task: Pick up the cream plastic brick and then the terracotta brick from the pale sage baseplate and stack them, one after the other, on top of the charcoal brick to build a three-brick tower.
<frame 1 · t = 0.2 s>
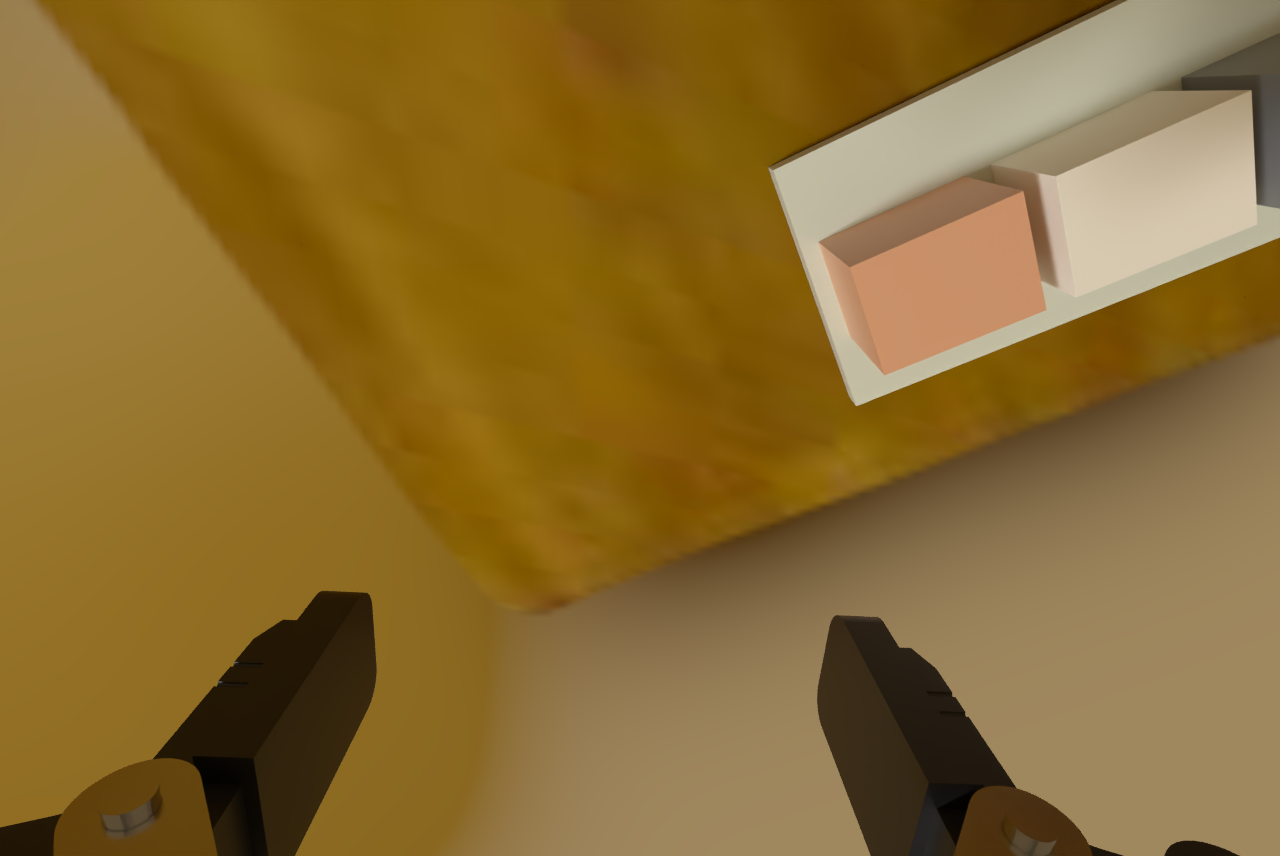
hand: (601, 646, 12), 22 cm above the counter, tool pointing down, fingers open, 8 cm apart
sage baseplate: (1061, 181, 29), on the counter
charcoal brick: (1270, 100, 27), point 1 cm above the counter, touching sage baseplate
cream brick: (1078, 184, 28), point 1 cm above the counter, touching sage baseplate
terracotta brick: (903, 260, 29), point 1 cm above the counter, touching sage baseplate
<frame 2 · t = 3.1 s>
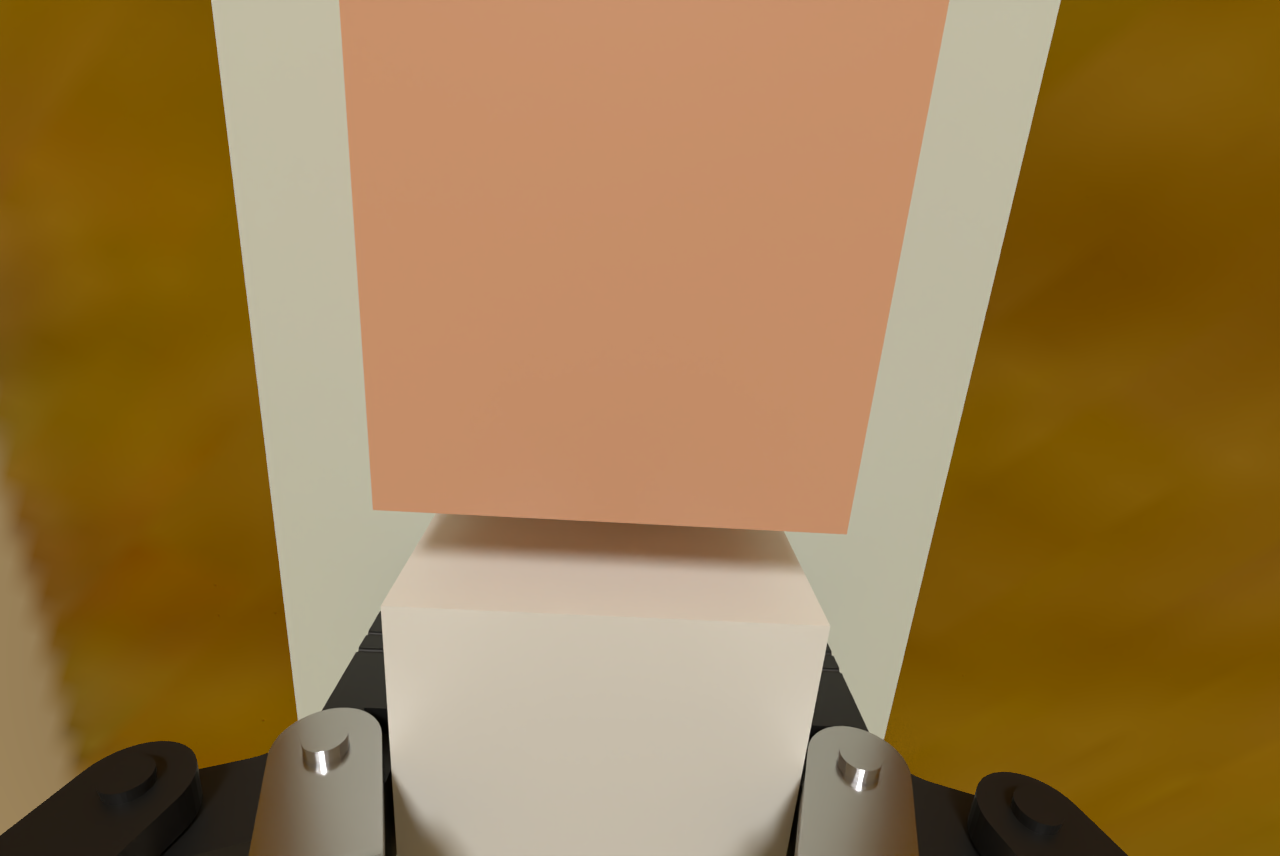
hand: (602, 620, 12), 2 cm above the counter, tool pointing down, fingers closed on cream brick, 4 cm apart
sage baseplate: (605, 575, 14), on the counter
cream brick: (604, 609, 13), point 1 cm above the counter, touching gripper, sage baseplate
terracotta brick: (629, 192, 10), point 1 cm above the counter, touching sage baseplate
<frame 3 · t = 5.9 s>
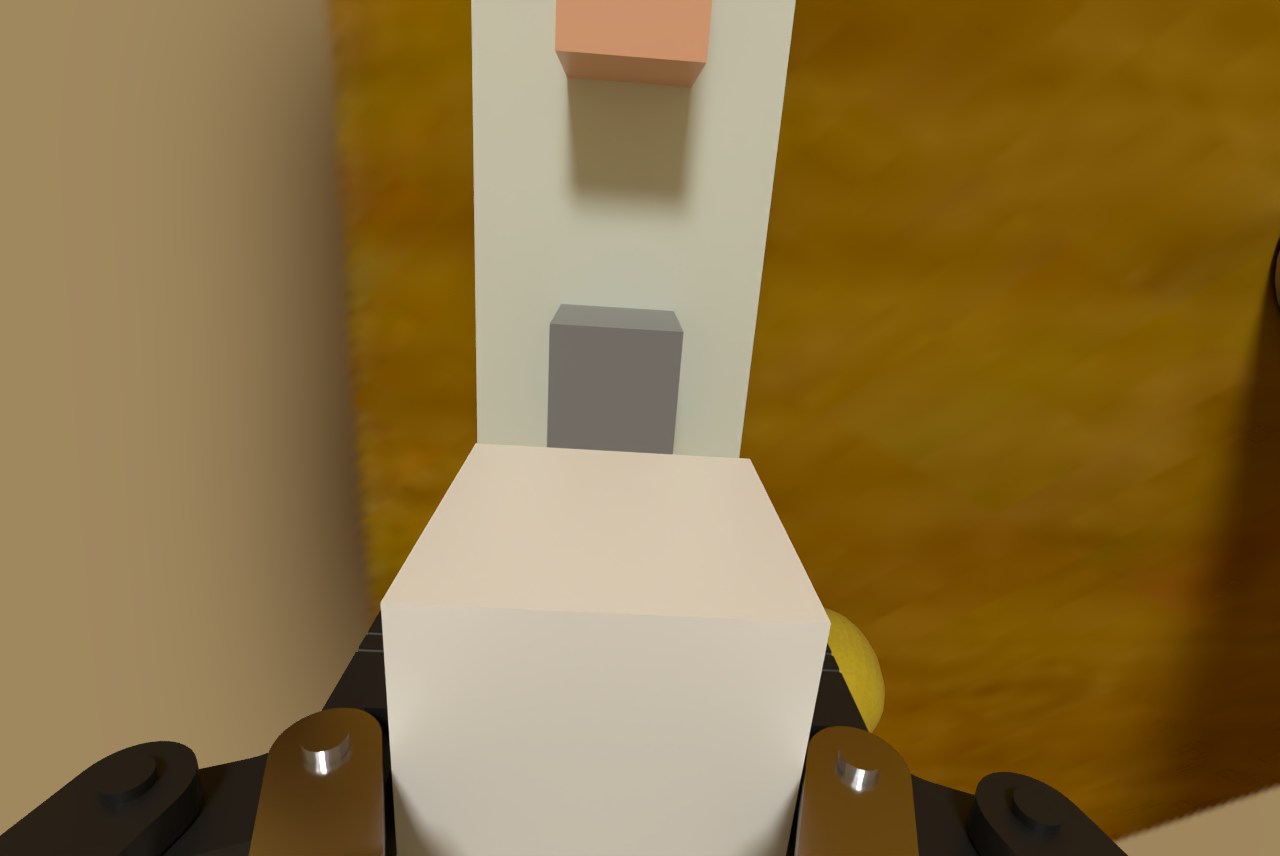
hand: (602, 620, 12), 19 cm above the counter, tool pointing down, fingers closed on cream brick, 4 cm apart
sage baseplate: (623, 200, 28), on the counter
charcoal brick: (613, 380, 29), point 1 cm above the counter, touching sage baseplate
cream brick: (604, 607, 13), point 19 cm above the counter, touching gripper
lemon: (796, 620, 35), on the counter
when the fingers open (8 cm above the counter, at t = 8.4 s): cream brick drops 1 cm, resting on charcoal brick.
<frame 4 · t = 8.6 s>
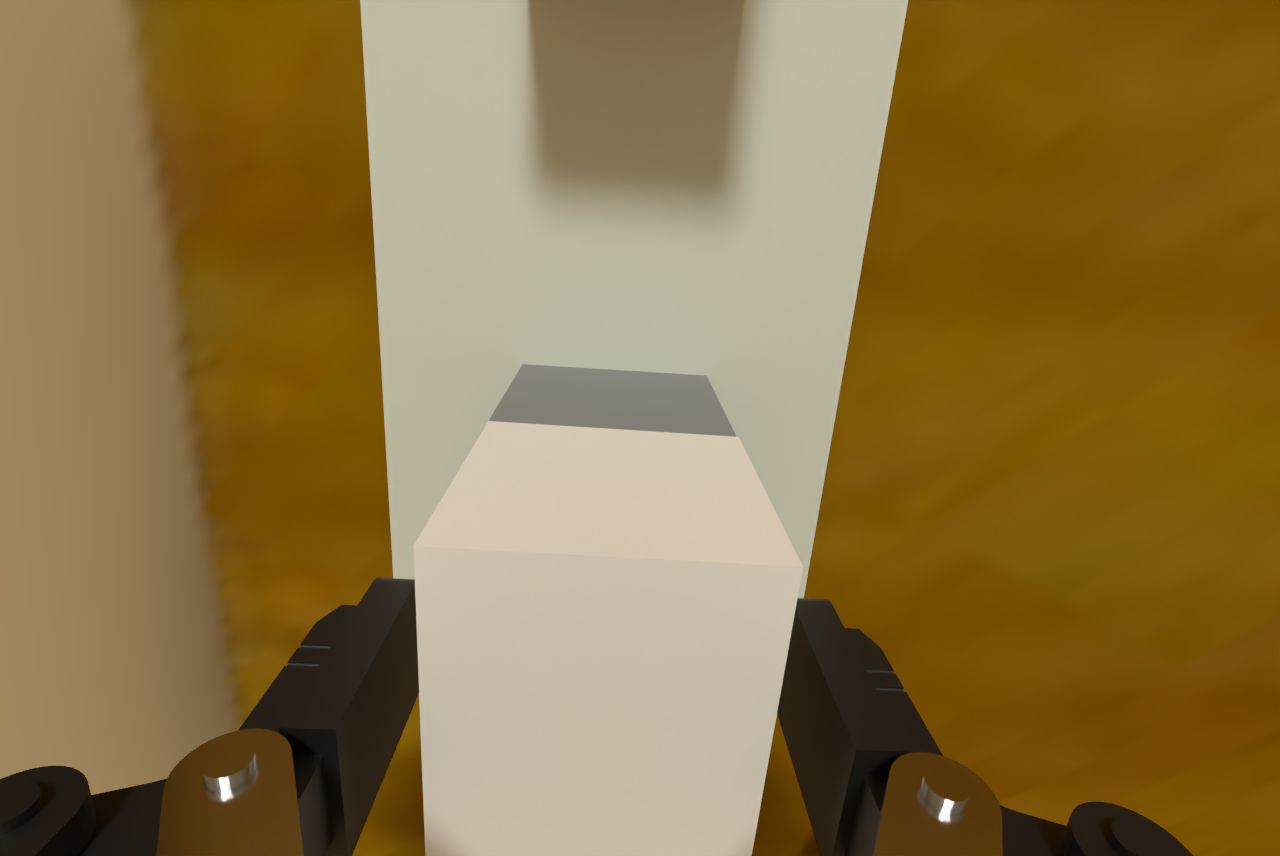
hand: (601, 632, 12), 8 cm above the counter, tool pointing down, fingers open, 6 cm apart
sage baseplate: (624, 195, 17), on the counter
charcoal brick: (608, 482, 18), point 1 cm above the counter, touching cream brick, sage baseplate
cream brick: (604, 574, 14), point 6 cm above the counter, touching charcoal brick
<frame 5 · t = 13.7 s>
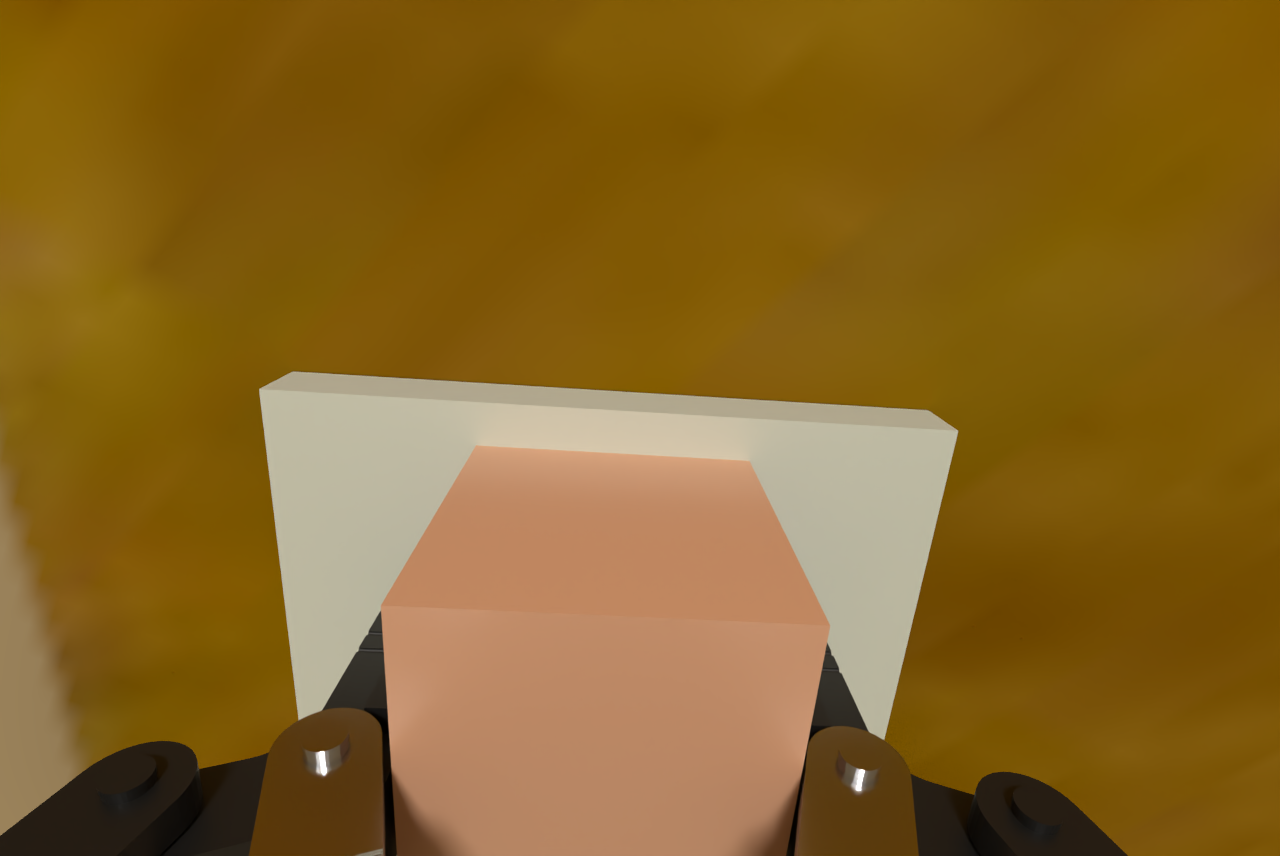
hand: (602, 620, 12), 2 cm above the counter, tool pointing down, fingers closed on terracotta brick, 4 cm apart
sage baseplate: (589, 843, 16), on the counter
terracotta brick: (604, 609, 13), point 1 cm above the counter, touching gripper, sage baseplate
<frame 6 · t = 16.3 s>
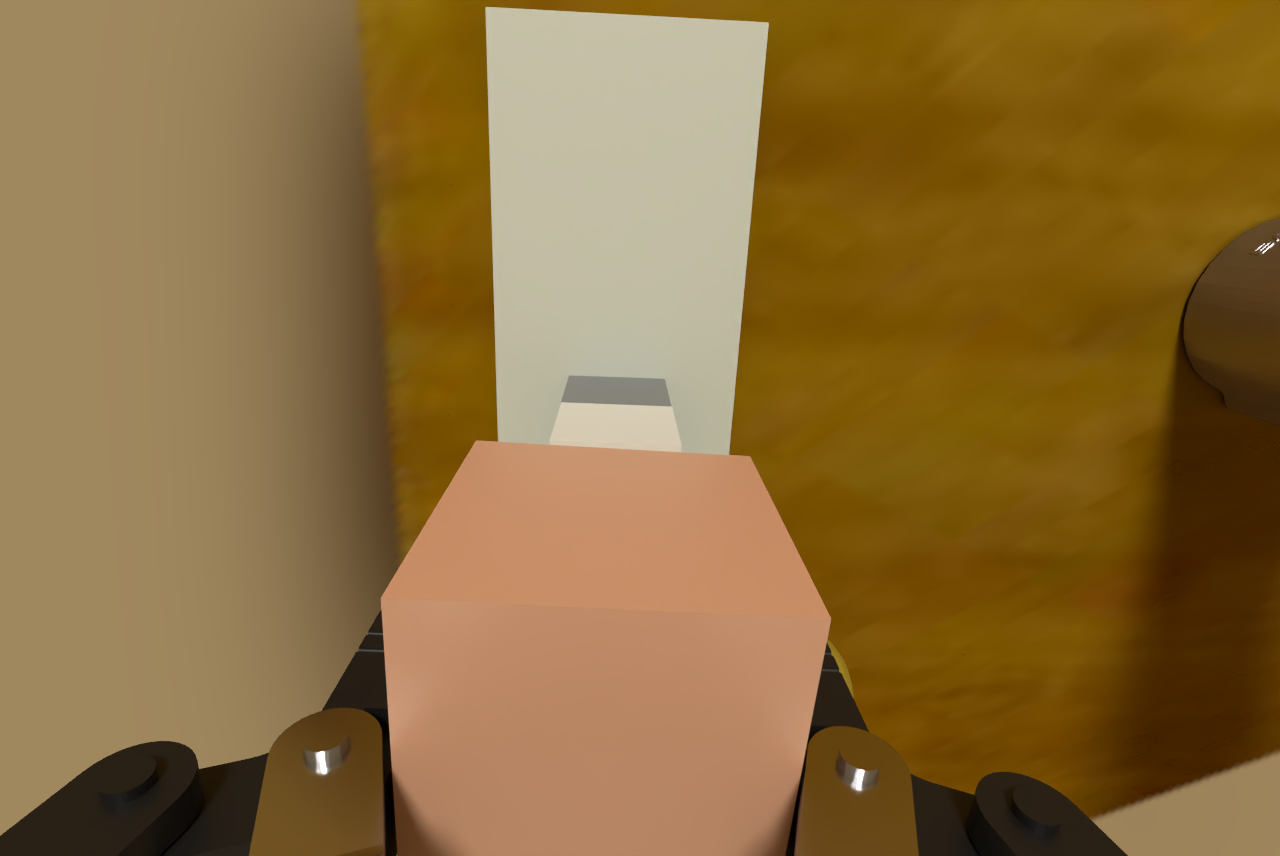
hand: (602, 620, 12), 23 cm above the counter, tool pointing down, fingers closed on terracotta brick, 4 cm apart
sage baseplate: (619, 286, 33), on the counter
charcoal brick: (615, 437, 34), point 1 cm above the counter, touching cream brick, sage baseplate
cream brick: (614, 472, 30), point 6 cm above the counter, touching charcoal brick
terracotta brick: (604, 605, 13), point 23 cm above the counter, touching gripper
lemon: (780, 635, 40), on the counter
when the fingers open (12 cm above the counter, at t = 19.1 s): terracotta brick drops 1 cm, resting on cream brick.
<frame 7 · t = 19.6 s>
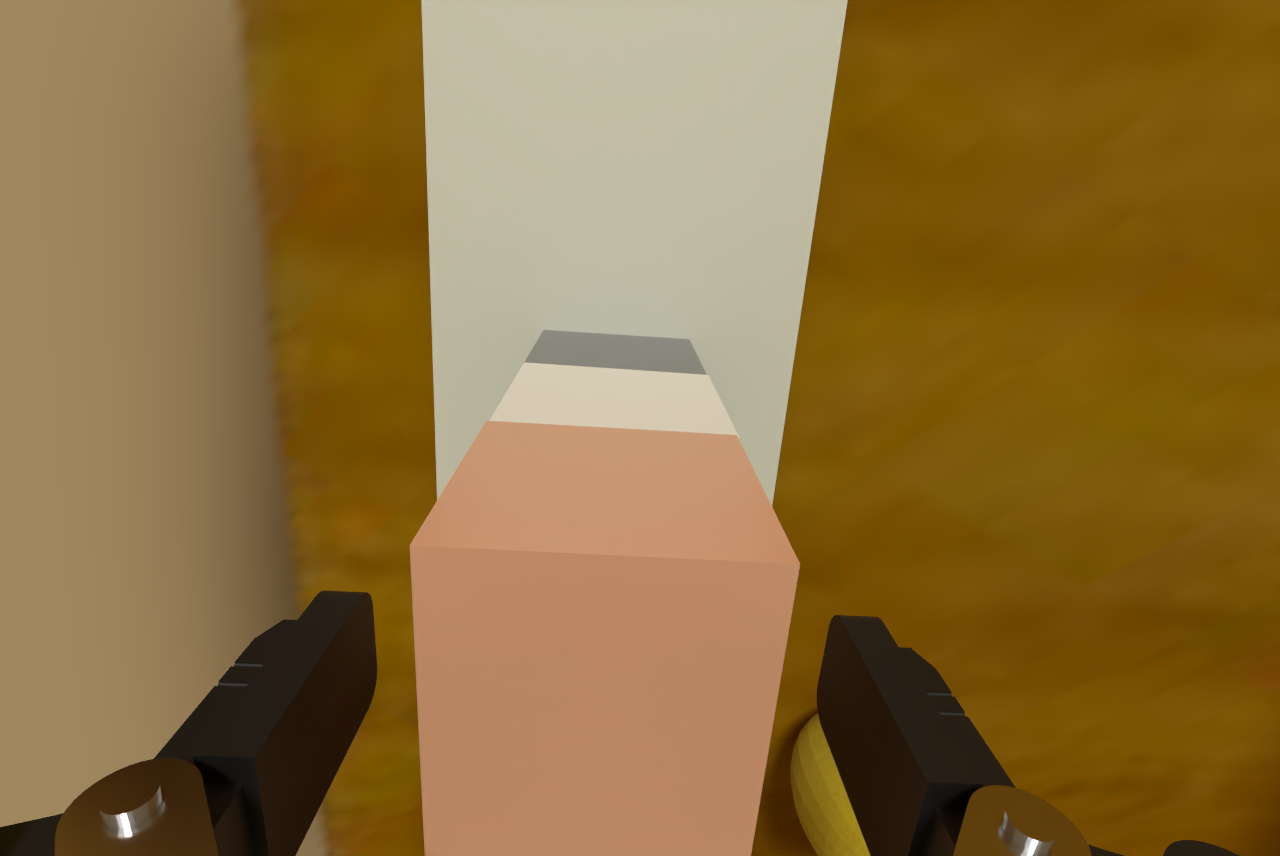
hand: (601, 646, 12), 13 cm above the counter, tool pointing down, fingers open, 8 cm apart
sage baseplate: (624, 196, 21), on the counter
charcoal brick: (611, 426, 23), point 1 cm above the counter, touching cream brick, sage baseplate
cream brick: (609, 481, 18), point 6 cm above the counter, touching charcoal brick, terracotta brick
terracotta brick: (603, 573, 14), point 11 cm above the counter, touching cream brick
lemon: (833, 710, 29), on the counter
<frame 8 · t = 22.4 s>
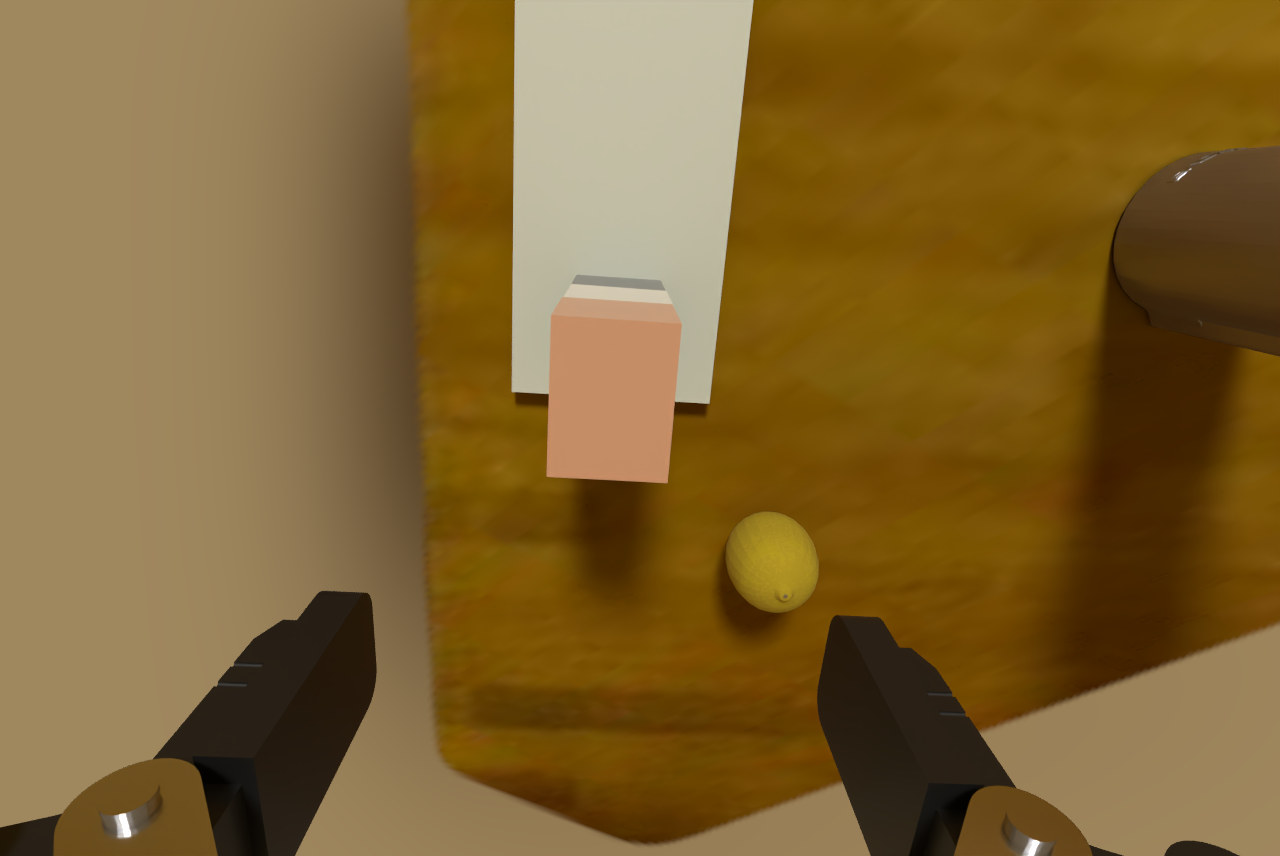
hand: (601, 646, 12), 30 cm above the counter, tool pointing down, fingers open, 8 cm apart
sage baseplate: (623, 197, 38), on the counter
charcoal brick: (615, 332, 39), point 1 cm above the counter, touching cream brick, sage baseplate
cream brick: (615, 349, 34), point 6 cm above the counter, touching charcoal brick, terracotta brick
terracotta brick: (613, 372, 30), point 11 cm above the counter, touching cream brick
lemon: (757, 528, 45), on the counter
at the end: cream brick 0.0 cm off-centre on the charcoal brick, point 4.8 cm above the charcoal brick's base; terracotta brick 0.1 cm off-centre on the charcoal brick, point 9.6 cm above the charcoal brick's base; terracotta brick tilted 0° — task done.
